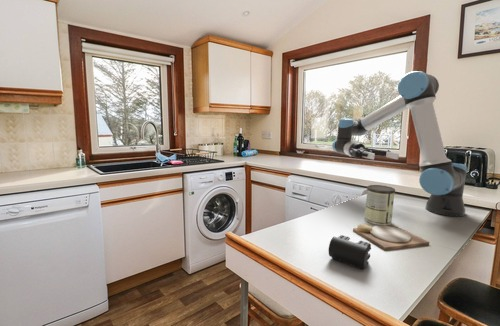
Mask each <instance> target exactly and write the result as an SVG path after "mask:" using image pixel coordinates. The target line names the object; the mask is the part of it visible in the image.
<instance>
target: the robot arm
mask: <svg viewBox="0 0 500 326" xmlns="http://www.w3.org/2000/svg"><path fill="white" fill-rule="evenodd" d="M439 87H440V84H439V80H438V79H437V78H436V77H435V76H434V75H432V74H428V73H426V72H424V71H421V70H419V71H417V70H414V71H410V72H407V73H406V74H405V75H403V76H402V77H401V78H400V80H399V82H398V84H397V93H398V94H399V96H397V97H396V98H394V99H392V100H391V101H389V102H387V103H386V104H384V105H382V106H381V107H379V108H378V109H375V110H374V111H372V112H371V113H369V114H367V115H366V116H364V117H362V118H361V119H359V120H357V121H356V122H354V119H353V118H339V120H338V125H337V126H338V127H337V136H336V137H337V138H336V139H335V140H334V141H333V143H332V146H331V147H332V150H333V151H334V152H335V153H338V154H340V155H345V156H349V158H352V157H353V158H356V159H363V158H365V159H370V160H375V156H379V157H385V158H389V159H394V160H399V155H400V153H398V152H392V151H391V150H389V149H387V150H382V149H375V148H371V147H370V148H369V147H366V146H365V145H364V144H363V143H361V142H356V141H352V139H353V138H352V137H353V136H357V137H361V136H364V135H365V134H367V132H368V131H370V130H372V129H374V128H375V127H376V126H379V125H381V124H383V123H384V122H387V121H388V120H390V119H391V118H394V117H395V116H398V114H401V113H402V112H404V111H406V110H408V109H409V110H410V114H411V116H412V117H411V118H412V123H413V126H414V130H415V134H416V139H417V143H418V147H419V152H420V156H421V161H422V162H421V163H420V164H419V170H420V173H421V174H420V176H419V179H418V180H419V181H418V182H419V185H420V187H421V189H422V190H424V192H426V193H428V194H430V195H429V198H428V200H427V202H426V203H425V209H426V210H427V211H429V212H431V213H434V214H437V215H441V216H449V217H464V216H465V215H466V208H465V203H464V199H463V198H464V197H463V195H464V190H465V183H466V177H467V173H468V170H467V169H468V168H467V165H466V164H463V163H457V162H456V163H455V162H452V160H451V159H449V158H448V157H447V155H446V151H445V147H444V143H443V140H442V135H441V131H440V127H439V122H438V118H437V114H436V110H435V107H434V102H435V100H437V96H436V95H437V93H438V91H439Z"/></svg>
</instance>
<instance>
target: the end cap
mask: <svg viewBox="0 0 500 326" xmlns="http://www.w3.org/2000/svg"><path fill="white" fill-rule="evenodd" d="M350 240H351V238H350V236H346V235H343V234H342V235H341V234H340V235H339V236H338V237H337V236H332V238H331V239H330V241H329V246H328V255H329V257H331V258H332V259H333V260H335V261H339V262H342V263H345V264H347V265H350V266H352V267H356V268H359V269H361V270H365V269H366V268H367V267H368V266H369V264H370V263H369V262H370V261H369V260H370V257H371V253H369V252H370V251H371V250H372V247H371V246H372V245H371V242H367V241H363V240H358V242H354V241H350Z"/></svg>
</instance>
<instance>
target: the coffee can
mask: <svg viewBox="0 0 500 326" xmlns="http://www.w3.org/2000/svg"><path fill="white" fill-rule="evenodd" d="M366 188H367V189H366V190H367V191H366V199H365V202H366V203H365V212H364V213H365V214H364V220H365V222H367V223H370V224H373V225H376V226H382V225H392V222H393V221H392V220H393V210H394V203H395V192H396V189H395V188H393V187H391V186H388V185H381V184H371V185H367V187H366Z"/></svg>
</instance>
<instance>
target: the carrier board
mask: <svg viewBox="0 0 500 326" xmlns="http://www.w3.org/2000/svg"><path fill="white" fill-rule="evenodd" d="M352 229H353V230H352V231H353V232H354V233H356V234H358V235H359V236H361V237H362V238H364V239H365V240H367V241H368V242H369V243H372V244H373V245H375V246H377V247H378V248H380V249H381V250H383V251H390V250H399V249H406V248H407V249H408V248H413V247H414V248H416V247H422V246H423V247H424V246H429V245H430V241H428V240H427V239H424V238H422V237H420V236H418V235H416V234H413V233H412V232H409V231H408V230H405V229H403V228H401V227H399V226H397V225H394V224H390V225H373V226H370V225H368V224H358V225H357V227H354V228H352Z"/></svg>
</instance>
